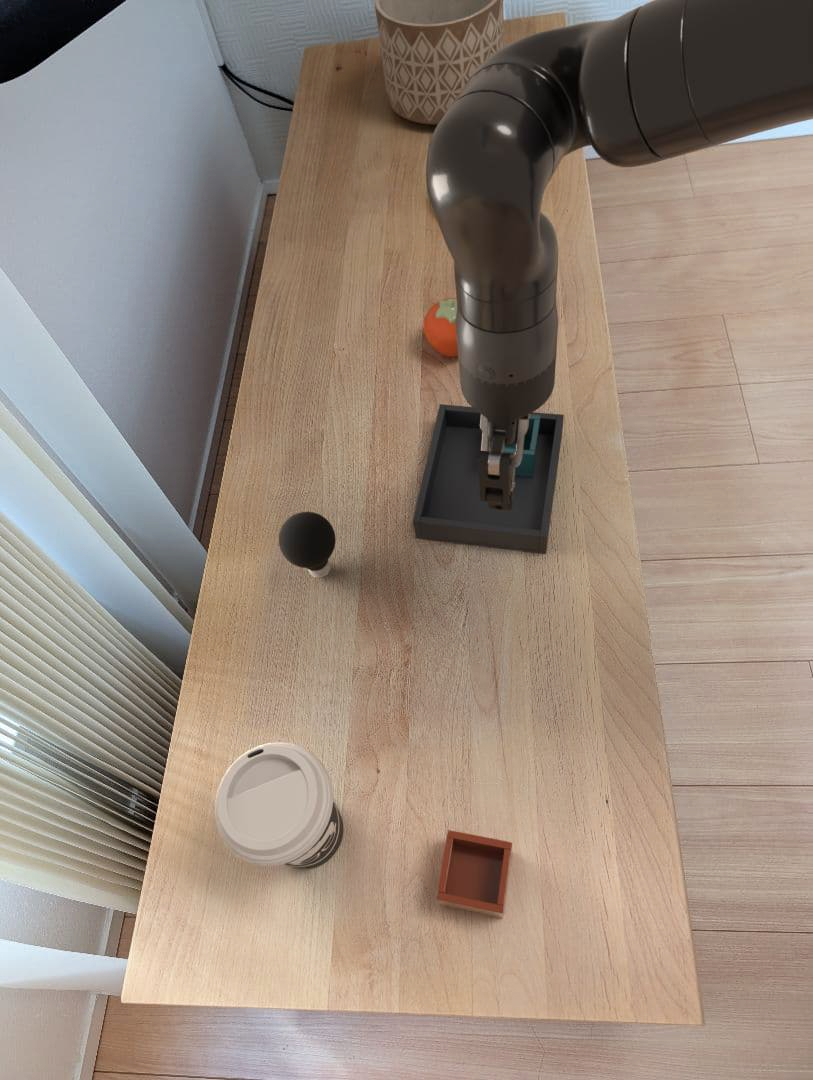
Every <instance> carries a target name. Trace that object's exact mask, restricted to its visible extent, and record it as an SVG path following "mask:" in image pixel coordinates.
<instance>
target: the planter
mask: <svg viewBox="0 0 813 1080" xmlns="http://www.w3.org/2000/svg"><path fill="white" fill-rule="evenodd" d="M373 3H374V9H375V17H376V24H377V25H376V26H377V31H378V32H377V33H378V39H379V46H380V54H381V63H382V70H383V77H384V84H385V85H384V86H385V93H386V99H387V102H388V104H389V106H390V108H391V109H392V110H393V112H395V113H396V114H397V115H398V116H399V117H402V118H404V119H406V120H408V121H410V122H414V123H418V124H423V125H434V126H435V125H436V126H437V125H438V123H439V122H440V120H441V119H442V117H443V116H444V115H445V113H446V112H447V110H448V109H449V108H450V106H451V105H452V103H453V102H454V100H455V99H456V98H457V96H458V95H459V93H460V92H461V90H462V89H463V87H464V86H465V85H466V83H467V82H468V80H469V79H470V77H471V76H472V75H473V73H474V72H475V70H476V69H477V68H478V67H479V66H480V65H481V64H482V63H483V62H484V61H485V60H486V59H487V58H489V57H490V56H491V55H492V54H494V53H495V52H497V51H498V50H500V49H502V48H503V47H505V45H504V42H505V41H504V40H505V39H504V0H373Z"/></svg>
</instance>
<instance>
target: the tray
mask: <svg viewBox="0 0 813 1080" xmlns="http://www.w3.org/2000/svg"><path fill="white" fill-rule="evenodd" d="M436 414H437V415H436V419H435V423H434V427H433V432H432V435H431V441H430V444H429V445H430V446H429V448H428V454H427V458H426V461H425V467H424V469H423V473H422V474H423V475H422V480H421V483H420V486H419V487H420V488H419V491H418V497H417V499H416V503H415V504H416V505H415V509H414V513H413V519H412V525H413V531H414V535H415V538H416V539H420V540H428V541H437V542H444V543H445V542H446V543H455V544H462V545H470V546H476V547H477V546H479V547H487V548H494V549H505V550H510V551H511V550H512V551H520V552H528V553H535V554H536V553H537V554H543V555H545V554H547V550H548V544H549V543H548V542H549V535H550V527H551V520H552V512H553V506H554V505H553V504H554V499H555V498H554V497H555V490H556V483H557V475H558V467H559V460H560V453H561V446H562V445H561V444H562V438H563V429H564V420H565V419H564V418H565V414H562V413H561V414H560V413H548V412H537V411H534V412H532V413H530V415H540V416H541V417H540V436H539V445H538V451H537V457H536V464H535V470H534V476H533V478H528V477H519V476H515V478H514V482H515V488H514V487H513V490H514V502H513V507H512V509H511V510H507V511H499V510H492V509H491V508H490V507H489V506H488V502H483V501H480V497H479V493H480V484H479V461H477V459H478V455H479V454H480V451H481V446H482V433H483V432H482V430H481V428H480V421H481V413H479V412H478V411H477V410H475V409H474V408H473V407H472V406H464V405H455V404H454V405H453V404H442V403H439V405H438V410H437V413H436Z"/></svg>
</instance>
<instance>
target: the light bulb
mask: <svg viewBox="0 0 813 1080" xmlns="http://www.w3.org/2000/svg"><path fill="white" fill-rule="evenodd" d="M278 534H279V535H278V546H279V550H280V552H281V555H283V557H284V558H285V559H286V561H288V562H289V563H290V564H292V565H294V566H296V567H299V568H303V569H305V568H306V569H307V571H308V573H309V575H311V576H312V577H313V578H317V579H319V578H323V577H325V576H327V575H328V574H329V573H330V570H331V563H330V560H329V559H330V557H331V556H332V554H333V553H334V550H335V548H336V532H335V530H334V528H333V525H332V523H331V522H330V521H329V520H328V519H327V518H326V517H324V516H323V515H321V514H319V513H317V512H313V511H302V512H297V513H295V514H292V515H291V516H289V518H287V519H286V520H285V521H284V523H283V525H282V526H281V528H280V531H279V533H278Z"/></svg>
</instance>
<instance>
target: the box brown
mask: <svg viewBox="0 0 813 1080" xmlns="http://www.w3.org/2000/svg"><path fill="white" fill-rule="evenodd" d="M512 857H513V842H512V841H507V840H502V839H497V838H491V837H486V836H481V835H476V834H471V833H466V832H461V831H457V830H450V829H448V830H447V834H446V838H445V845H444V851H443V855H442V861H441V869H440V875H439V881H438V887H437V893H436V898H435V899H436V901H437V902H438V903H439V905H440V906H444V907H449V908H452V909H459V910H462V911H467V912H472V913H477V914H481V915H486V916H490V917H495V918H499V919H504V918H505V911H506V902H507V896H508V895H507V894H508V887H509V878H510V873H511V872H510V871H511V865H512Z"/></svg>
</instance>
